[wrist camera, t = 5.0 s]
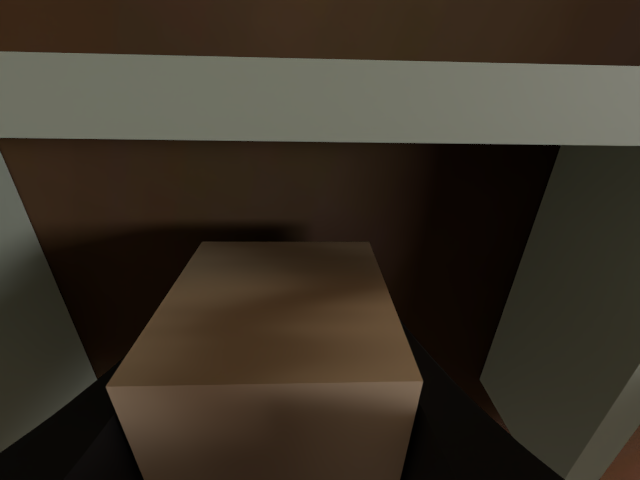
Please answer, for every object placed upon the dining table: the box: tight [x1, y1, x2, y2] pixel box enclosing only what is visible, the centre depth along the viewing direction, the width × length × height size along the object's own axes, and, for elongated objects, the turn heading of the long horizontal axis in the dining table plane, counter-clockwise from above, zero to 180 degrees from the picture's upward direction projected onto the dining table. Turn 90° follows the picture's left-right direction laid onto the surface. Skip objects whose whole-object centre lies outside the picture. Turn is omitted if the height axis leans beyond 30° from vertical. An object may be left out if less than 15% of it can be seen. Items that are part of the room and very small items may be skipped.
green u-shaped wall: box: [0, 52, 640, 480], centre depth 10 cm, size 20×13×5 cm, turn 89°
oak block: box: [106, 242, 423, 480], centre depth 8 cm, size 5×5×5 cm
